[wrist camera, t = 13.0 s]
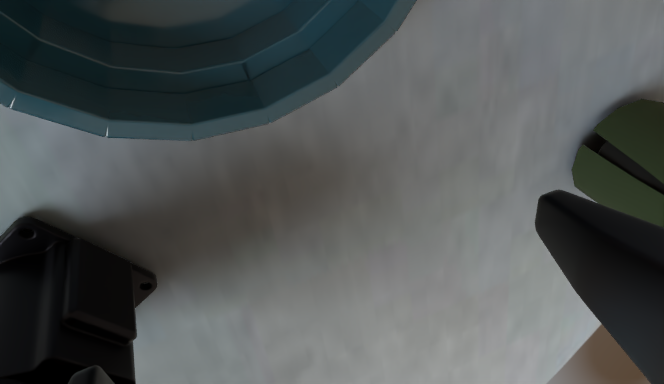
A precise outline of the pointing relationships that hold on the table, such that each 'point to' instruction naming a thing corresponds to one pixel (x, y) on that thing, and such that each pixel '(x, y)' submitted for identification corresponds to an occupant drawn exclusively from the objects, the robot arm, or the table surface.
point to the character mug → (627, 162)
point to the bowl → (182, 60)
